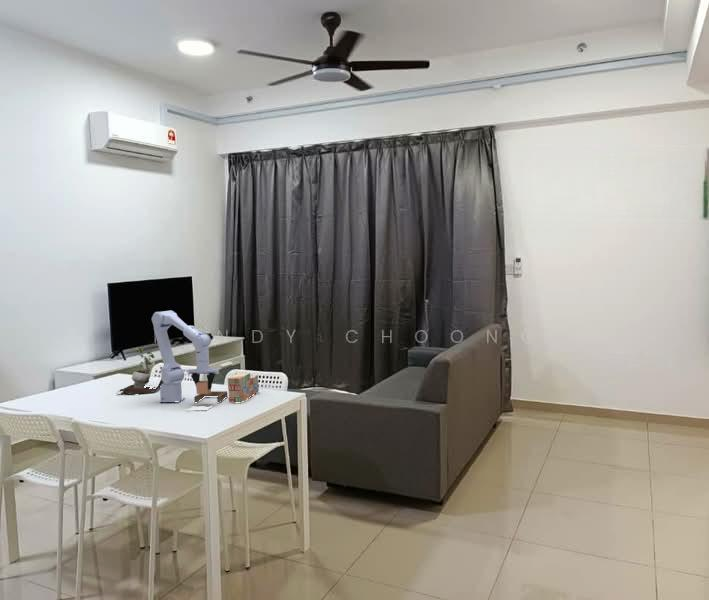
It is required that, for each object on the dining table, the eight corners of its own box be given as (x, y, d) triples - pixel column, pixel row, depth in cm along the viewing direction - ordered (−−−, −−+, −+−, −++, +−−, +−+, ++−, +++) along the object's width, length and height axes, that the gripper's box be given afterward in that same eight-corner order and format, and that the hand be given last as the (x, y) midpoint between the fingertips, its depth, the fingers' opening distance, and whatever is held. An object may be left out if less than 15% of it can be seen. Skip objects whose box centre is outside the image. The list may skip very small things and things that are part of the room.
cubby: (194, 403, 265) (194, 397, 264) (203, 397, 276) (202, 391, 276) (219, 403, 263) (219, 396, 263) (227, 397, 275) (227, 391, 274)
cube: (196, 393, 258) (196, 383, 258) (200, 391, 263) (200, 380, 263) (207, 393, 258) (206, 383, 257) (210, 391, 263) (210, 380, 262)
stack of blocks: (247, 392, 284) (246, 368, 283) (259, 392, 283) (258, 368, 282) (228, 403, 263) (227, 377, 263) (241, 403, 262) (239, 377, 261)
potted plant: (129, 391, 304) (141, 347, 307) (163, 399, 305) (174, 354, 307) (115, 394, 285) (127, 346, 287) (150, 402, 285) (163, 354, 288)
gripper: (220, 358, 263) (221, 387, 264) (191, 359, 264) (192, 387, 265) (215, 361, 256) (216, 390, 257) (185, 361, 257) (186, 390, 258)
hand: (204, 389), depth 261 cm, fingers closed on cube, 5 cm apart
